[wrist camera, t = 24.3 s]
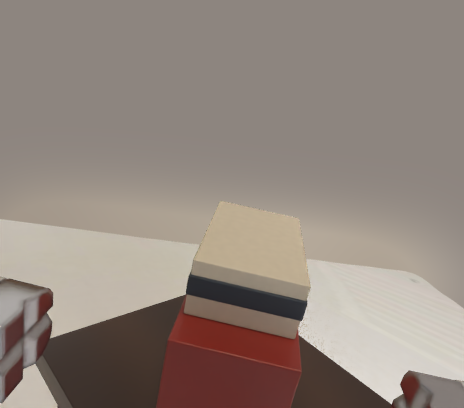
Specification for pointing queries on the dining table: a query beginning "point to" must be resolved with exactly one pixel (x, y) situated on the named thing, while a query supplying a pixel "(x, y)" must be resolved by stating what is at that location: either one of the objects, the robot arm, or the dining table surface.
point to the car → (239, 315)
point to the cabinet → (151, 364)
